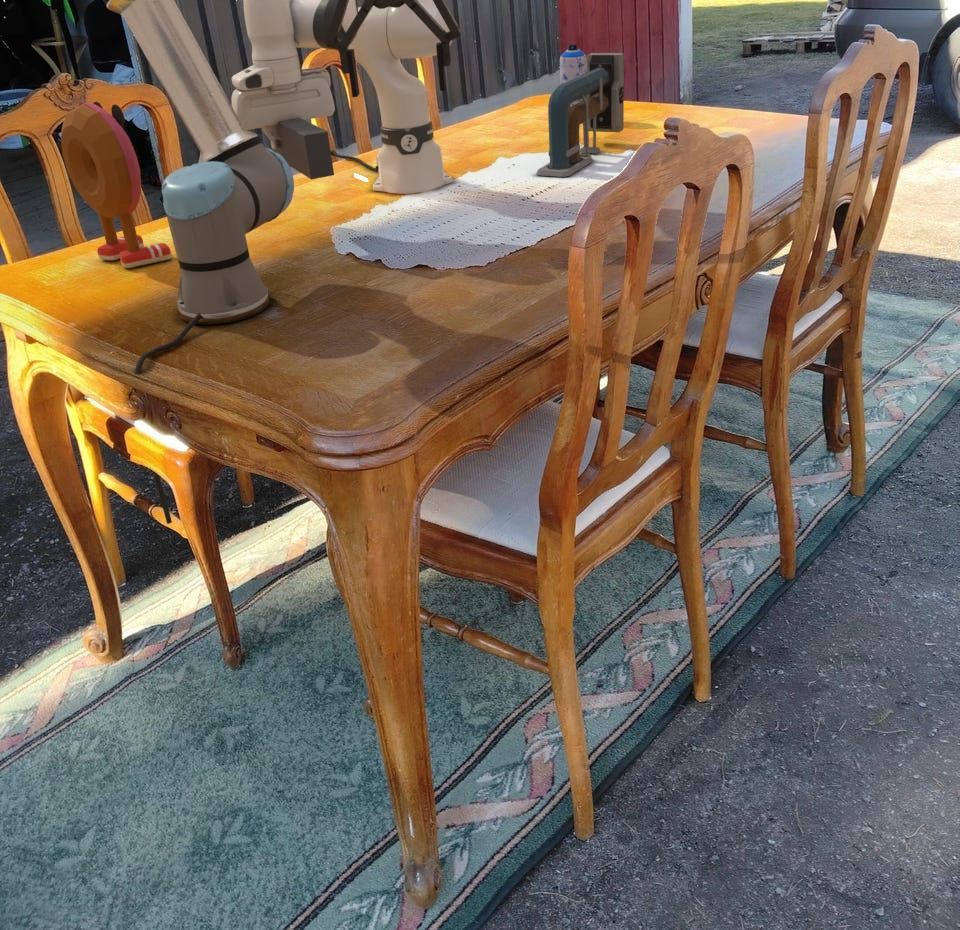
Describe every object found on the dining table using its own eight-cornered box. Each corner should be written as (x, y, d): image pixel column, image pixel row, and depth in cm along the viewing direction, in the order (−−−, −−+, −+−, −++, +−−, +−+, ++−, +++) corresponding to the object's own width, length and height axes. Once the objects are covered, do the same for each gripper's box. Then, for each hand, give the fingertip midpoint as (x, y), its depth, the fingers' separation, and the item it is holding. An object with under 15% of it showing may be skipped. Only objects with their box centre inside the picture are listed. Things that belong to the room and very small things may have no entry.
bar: (334, 175, 183) (327, 131, 179) (311, 179, 181) (304, 135, 177) (297, 153, 201) (290, 113, 197) (275, 157, 200) (268, 116, 195)
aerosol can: (559, 122, 275) (557, 47, 265) (562, 117, 282) (559, 42, 272) (587, 121, 274) (585, 45, 263) (589, 115, 280) (587, 41, 270)
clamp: (567, 177, 223) (565, 79, 213) (533, 175, 227) (529, 78, 216) (623, 141, 249) (623, 53, 238) (592, 140, 253) (590, 53, 242)
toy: (184, 259, 191) (146, 100, 176) (138, 275, 185) (94, 111, 170) (129, 242, 204) (90, 93, 189) (85, 256, 198) (40, 102, 183)
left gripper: (469, -72, 141) (480, 82, 152) (301, -58, 143) (324, 93, 153) (467, -70, 135) (479, 90, 145) (291, -56, 136) (315, 102, 147)
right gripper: (323, 63, 195) (333, 134, 202) (223, 78, 187) (237, 151, 194) (333, 67, 190) (343, 139, 197) (231, 82, 182) (246, 157, 189)
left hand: (399, 92), depth 149 cm, fingers open, 13 cm apart
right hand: (290, 145), depth 196 cm, fingers closed on bar, 4 cm apart
